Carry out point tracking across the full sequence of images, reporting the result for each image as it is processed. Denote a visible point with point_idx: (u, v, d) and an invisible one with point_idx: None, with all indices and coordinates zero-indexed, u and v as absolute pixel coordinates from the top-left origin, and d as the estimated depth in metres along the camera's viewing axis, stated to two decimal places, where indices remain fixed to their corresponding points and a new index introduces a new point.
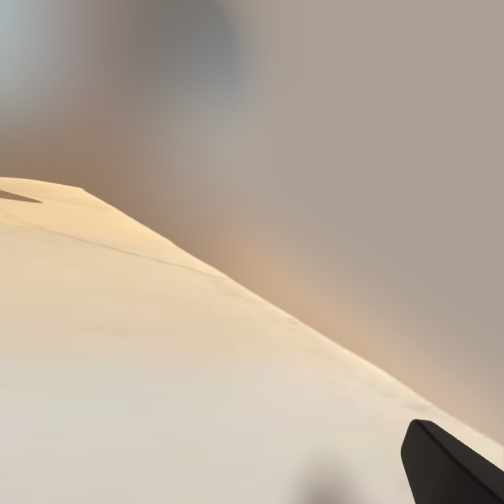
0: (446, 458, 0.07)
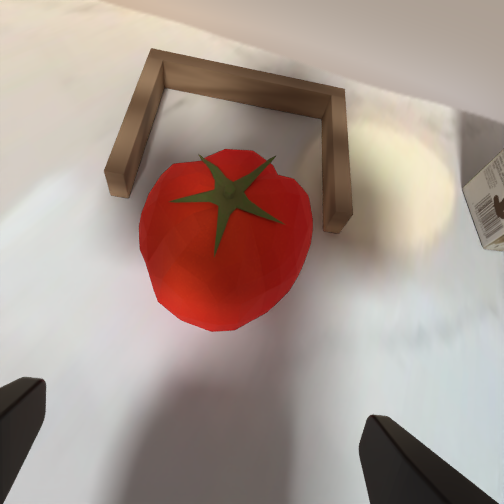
0: (396, 453, 0.07)
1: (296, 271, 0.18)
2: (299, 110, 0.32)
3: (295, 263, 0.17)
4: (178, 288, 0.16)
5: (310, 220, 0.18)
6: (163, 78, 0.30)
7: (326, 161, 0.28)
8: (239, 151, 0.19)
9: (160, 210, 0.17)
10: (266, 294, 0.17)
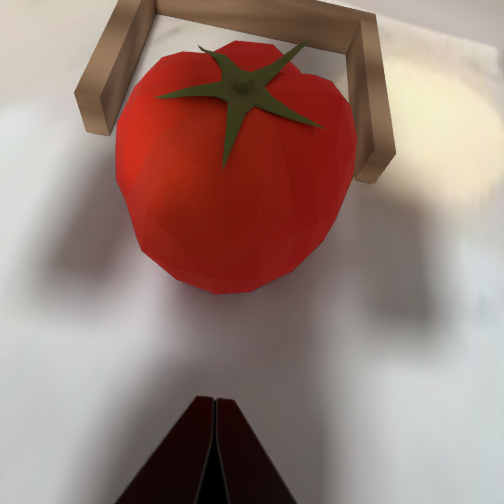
0: (215, 435, 0.06)
1: (337, 208, 0.13)
2: (319, 43, 0.26)
3: (337, 194, 0.12)
4: (168, 224, 0.11)
5: (355, 138, 0.13)
6: None
7: (356, 97, 0.23)
8: (255, 43, 0.13)
9: (141, 113, 0.11)
10: (297, 238, 0.12)
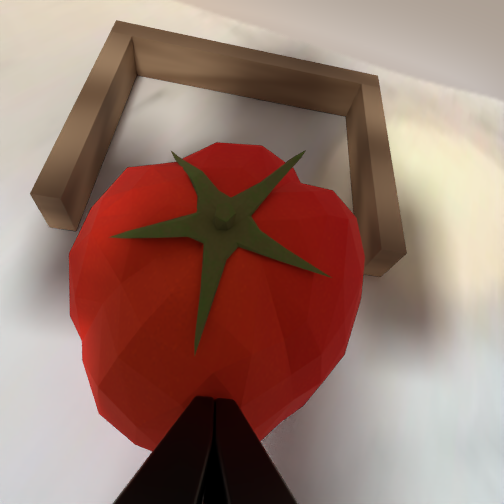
0: (215, 435, 0.06)
1: (344, 352, 0.10)
2: (317, 105, 0.24)
3: (344, 341, 0.10)
4: (127, 406, 0.08)
5: (363, 260, 0.11)
6: (134, 62, 0.22)
7: (358, 173, 0.21)
8: (240, 146, 0.11)
9: (95, 252, 0.09)
10: (294, 401, 0.09)
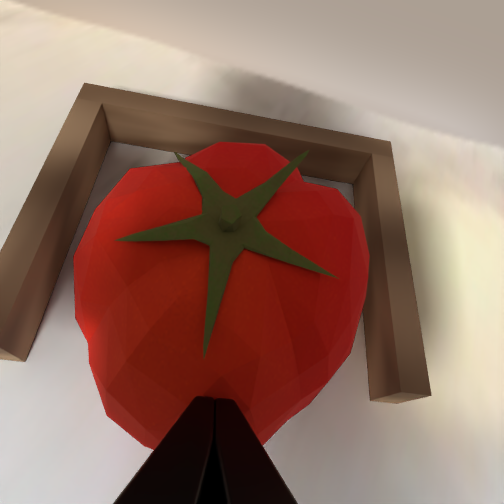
0: (214, 435, 0.06)
1: (350, 351, 0.10)
2: (319, 173, 0.21)
3: (350, 341, 0.10)
4: (136, 409, 0.08)
5: (368, 259, 0.11)
6: (106, 129, 0.19)
7: None
8: (243, 145, 0.11)
9: (101, 256, 0.09)
10: (302, 401, 0.09)
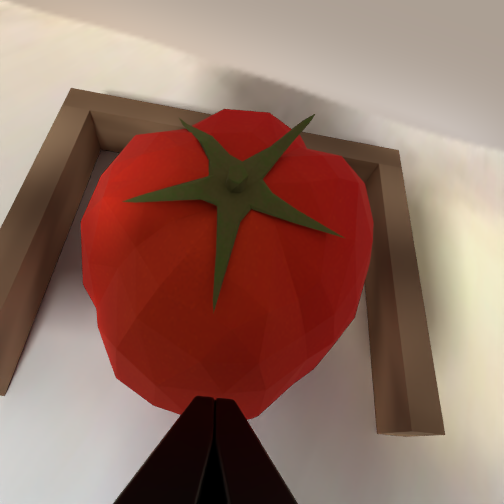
0: (215, 435, 0.06)
1: (354, 314, 0.10)
2: None
3: (355, 303, 0.10)
4: (146, 366, 0.08)
5: (372, 225, 0.11)
6: (95, 137, 0.18)
7: (375, 286, 0.16)
8: (248, 112, 0.11)
9: (108, 218, 0.09)
10: (308, 361, 0.10)
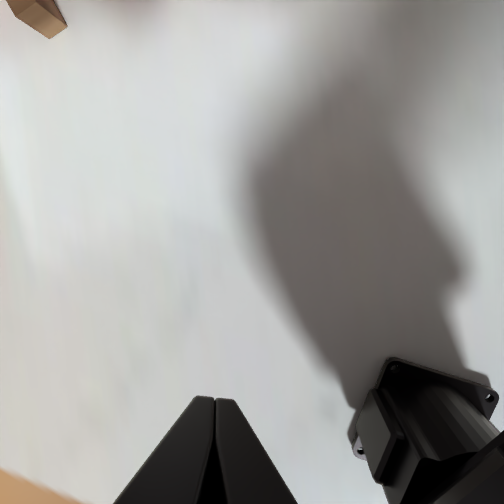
0: (215, 435, 0.06)
1: None
2: None
3: None
4: None
5: None
6: None
7: None
8: None
9: None
10: None
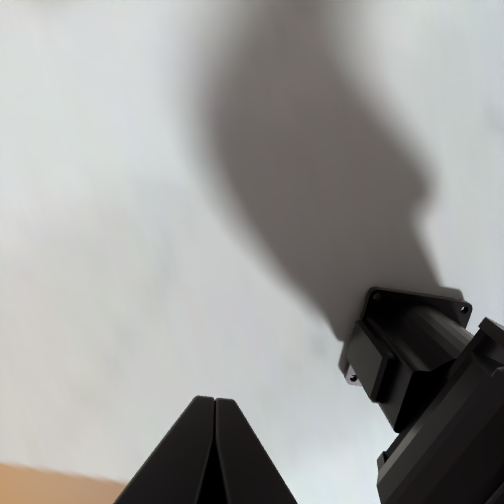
0: (215, 435, 0.06)
1: None
2: None
3: None
4: None
5: None
6: None
7: None
8: None
9: None
10: None
